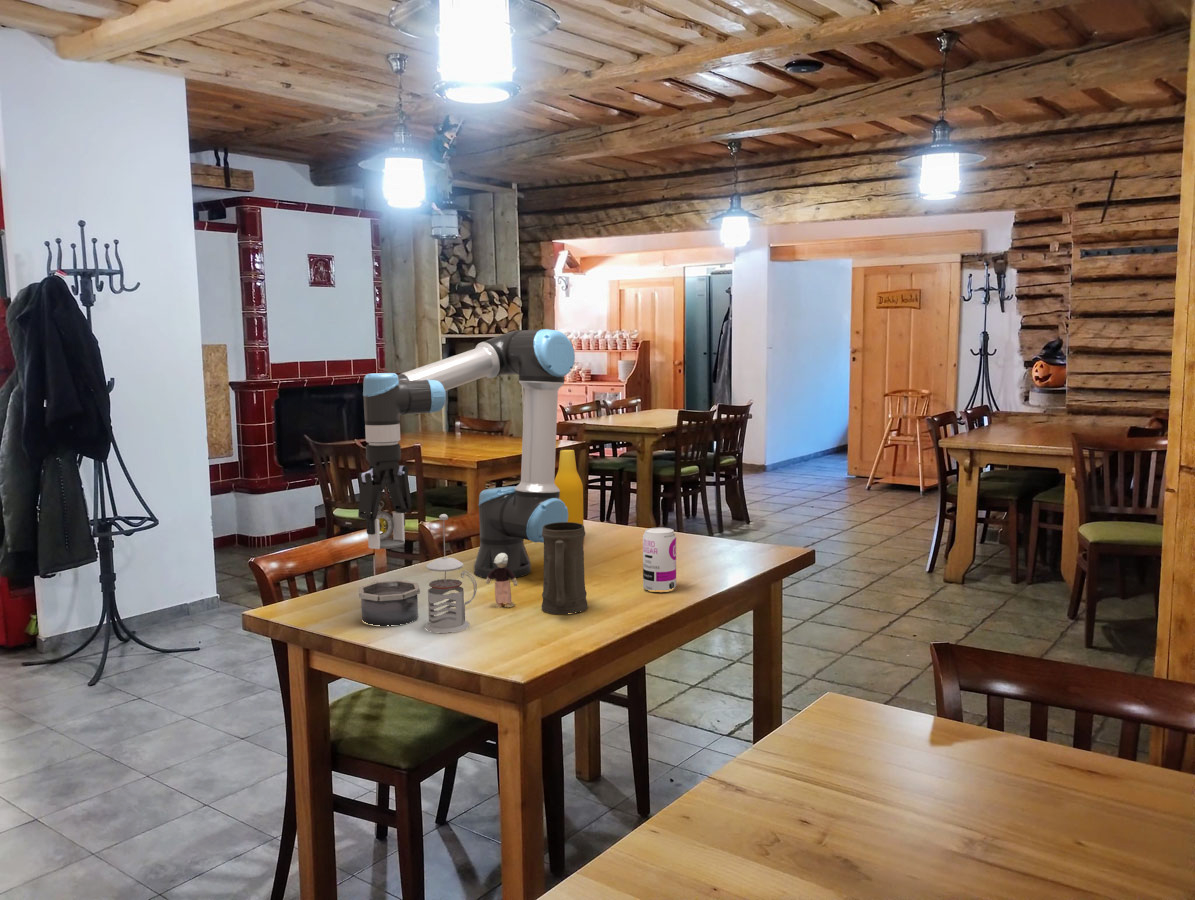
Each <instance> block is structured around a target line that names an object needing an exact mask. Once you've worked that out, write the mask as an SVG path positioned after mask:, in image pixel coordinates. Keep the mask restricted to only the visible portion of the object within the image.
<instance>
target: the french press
mask: <svg viewBox="0 0 1195 900" xmlns="http://www.w3.org/2000/svg"><path fill="white" fill-rule="evenodd" d="M438 518H439V519H438V520H439V521H442V525H443V528H442V529H443V553H444V554H443V555H444V556H443V557H438V558H435V559H434V560H432V561H430V562H429V563H427V564H426V566H425V568H426V569H428V570H429V571H433V572H444V578H441V579H439V578H438V579H435V580H432V581H431V582H429V584H428V585H429V587H430V588H428V590H427V599H428V600H427V602H428V605H427V607H428V621H427V623H426V624H425V625H424V628H426V629H427V630H428V631H427V630H426V629H425V630H426V631H427V632H430V631H431V632H430V633H434V632H440V633H439V634H448V632H452V633H457V632H456V631H458V632H461V631H464V630H466V629H468V628H469V627H470V623H469V622H468V621H467V620H466V605H468V604H470V603H471V602H472V601H473V599H475V597H476V594H477V585H478V584H477V580H476V578H475V577H474V575H473V574H472V573H470V572H469V571H467V570H463V571H462V572H461V574H460V578H461V579H464V576H465V575H466V576H467V577H468V578H470V581H471V583H472V585H473V595H472V597H471V599H469V600H467V601H465V599H464V598H465V597H464V593H465V592H464V587H462V585H463V581H461V580H460V579H455V578H454V579H453V578H447V576H446V573H447V572H453V571H457V570H460V569H462V568H463V566H464V563H463V562H462V561H460V560H458V559H456V558H454V557H447V556H446V542H445V541H446V540H445V539H446V538H445V535H446V534H445V521H446V520H448V519H449V516H448V515H447V514H446V513H443V514H440V515H439V517H438ZM451 591H456V592H452V593H451ZM448 592H450V593H449V594H448ZM444 600H446V601H444ZM442 601H444V602H442ZM439 602H441V603H439ZM435 603H439V604H435ZM444 606H445V607H444ZM442 607H443V608H442ZM440 608H441V609H440ZM435 609H439V610H435ZM444 612H445V613H444ZM441 613H442V614H441ZM438 614H440V615H438ZM463 629H464V630H463Z"/></svg>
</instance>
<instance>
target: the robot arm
mask: <svg viewBox="0 0 1195 900" xmlns="http://www.w3.org/2000/svg"><path fill="white" fill-rule="evenodd" d="M575 355H576V354H575V349H574V345H573V344H572V342H571V340H570V339H569V338H568V336H567V335H566V334H565V333H563V332H561V331H560V330H556V329H555V330H554V329H548V328H545V329H544V328H543V329H527V330H526V329H521V330H520V329H518V330H512V331H510V332H509V331H508V332H506V333H503V334H501V335H497V336H495V337H492V338H490V339H487V340H485V341H481V342H479V343H477V344H476V345H475V348H474V349H469V350H467V351H464V352H462V353H459V354H456V355H452V356H449V357H447V358H444V359H440V360H437V361H434V362H432V363H428V364H426V365H422V366H419V367H417V368H414V369H411V370H408V371H405V372H402V373H400V374H397V373H395V372H381V373H380V372H379V373H378V372H377V373H373V372H372V373H368V374H366V375H365V376H364V377H363V383H362V385H363V389H362V390H363V392H362V396H363V410H364V424H365V426H364V429H365V433H364V434H365V442H366V443H367V445H365V459H366V461H367V462H368V463H369V465H368V470H367V471H365V472H359V473H358V480H359V498H358V513H357V514H358V515H357V516H358V518H360V519H363V520H365V522H366V523H365V524H366V525H365V526H366V528H365V529H366V534H367V537H368V538H367V540H368V541H367V542H368V543H367V544H368V549H374V550H380V549H381V548H380V534H381V532H380V527H379V519H376V517H377V512H379V509H378V508H379V504H380V505H381V502H380V501H381V498H382V494H383V491H384V490H385V489H387V491H388V493H389V496H390V499H391V502H392V506H393V508H394V511H393V512H392V519H393V523H394V527H393V531H392V535H393V539H395V540H403V541H404V542H406V541H405V540H406V539H405V538H406V537H405V536H406V535H405V526H406V514H407V513H409V512H410V509H411V508H412V506H413V505H412V498H411V492H410V484H409V477H408V476H409V465H408V466H407V465H400V463H399V461H401V458H402V452H401V451H402V449H401V447H402V445H401V444H400V443H399V442H400V441H401V425H400V424H401V423H400V422H401V421H400V420H401V418H400V416H404V415H416V414H431V413H436V412H440V411H442V409H443V408H444V407H445V405H446V401H447V399H446V398H447V397H446V391H449V390H451V389H455V388H457V387H460V386H462V385H465V384H468V383H470V382H473V381H474V382H475V381H476V380H479V379H482V378H486V379H493V378H496V377H500V376H506V375H507V376H510V375H513V376H514V375H517V376H518V383H519V384H520V386H522V387H523V389H524V390H523V391H524V392H523V393H524V394H523V395H524V396H523V413H522V414H523V416H522V417H523V418H522V421H523V422H522V443H521V464H520V465H521V471H520V482H519V483H518V484H517V485H516V486H515V485H513V486H512V485H511V486H510V485H509V486H501V487H493V488H486V489H483V490H482V491H481V492H480V493H479V497H478V518H479V522H478V523H479V541H480V542H479V544H480V545H479V548H478V552H477V554H476V558H475V561H474V565H473V566H474V567H473V570H474V575H475V576H477V577H481V578H484V579H487V577H488V576H487V575H488V574H489V573H490V572H491V571H492V570H494V569H497V568H499V567H498V566H497V564H495V563H493V562H494V559H495V558H496V556H497V555H498V554H500V553H505V554H506V555H507V556H508V562H507V566H506V567H505V568H506V569H509V570H511V571H512V573H513V574H514V575H515V578H519V577H520V578H521V577H523V576H526V575H528V574H530V573H531V572H532V565H531V560H530V558H529V554H528V552H527V549H526V546H525V542H524V541H526V540H527V541H530V542H532V543H536V544H537V543H543V544H544V538H543V536H542V531H543V526H544V525H547V524H551V523H558V522H567V521H568V509H567V507H566V506H565V503H564V502H563V501H561V500H560V499H559V498H560V489H559V488H558V487H557V486H556V485H555V483H554V480H555V477H556V476H555V475H556V474H555V473H556V472H555V471H556V449H557V448H556V447H557V424H558V422H557V419H558V400H559V399H558V397H559V390H560V389H561V388H562V387H563V386H564V385H565V376H567V375H568V374H569V373H570V372H571V369H573V367H574V365H575V359H576V358H575ZM393 539H392V540H393ZM508 578H509V577H508ZM494 579H495V580H496V578H494ZM509 579H510V578H509Z"/></svg>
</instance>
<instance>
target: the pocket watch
mask: <svg viewBox="0 0 1195 900" xmlns="http://www.w3.org/2000/svg"><path fill="white" fill-rule="evenodd" d="M381 503H382V506H381ZM384 506H385V503H384V501H383V500H380V504H379V508H378V512H377V517H376V519H379V528H380V549H385V550H390V549H397V548H400V547H403V546H404V545H405V544H406V543H405V542H406V541H405V542H404V541H403V540H395V539H388V538H389V537H390V536H391V535H392V534H393V527H394V523H393V516H391V514H390V513H388V512H386V511H382V509H383V508H384Z"/></svg>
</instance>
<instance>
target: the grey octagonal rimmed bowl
mask: <svg viewBox="0 0 1195 900" xmlns="http://www.w3.org/2000/svg"><path fill="white" fill-rule="evenodd" d="M418 594H419V595H420V594H421V588H420V586H419V583H418V582H415V581H406V580H400V579H398V580H397V579H396V580H385V581H376V582H372V583H368V584H365V585H363V586H360V587H358V596H359V599H360V603H361V621H362V620H363V621H364V622H366V623H368V624H373V625H380V626H387V625H389V626H390V627H392V626H391V625H399V626H401V625H400V624H404V625H407V624H406V623H408V624H410V622H411V623H413V622H415V621H416V620H418V618H419V605H418V604H419V602H418ZM414 620H415V621H414ZM412 621H413V622H412Z"/></svg>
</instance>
